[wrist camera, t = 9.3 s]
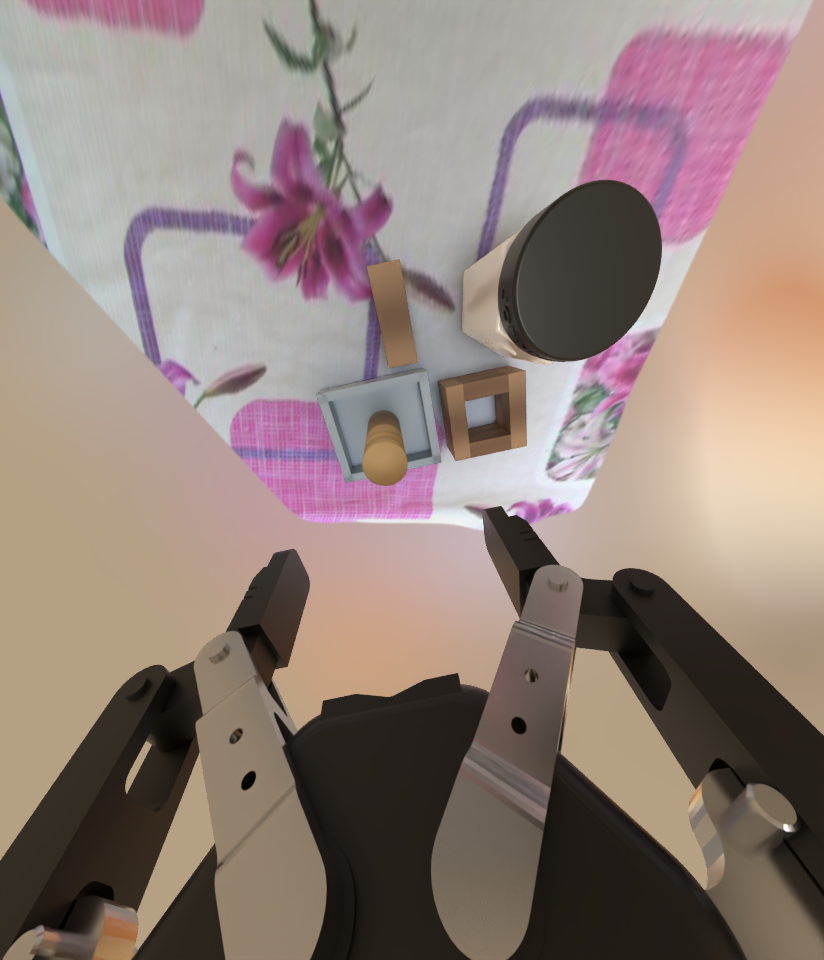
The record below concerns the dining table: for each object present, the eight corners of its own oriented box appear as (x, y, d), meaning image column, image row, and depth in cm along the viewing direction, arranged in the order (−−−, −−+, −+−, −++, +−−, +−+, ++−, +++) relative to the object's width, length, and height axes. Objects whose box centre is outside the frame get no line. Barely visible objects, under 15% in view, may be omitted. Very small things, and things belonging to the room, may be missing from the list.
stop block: (369, 275, 25) (366, 266, 21) (397, 269, 25) (399, 259, 21) (388, 363, 28) (389, 368, 24) (413, 358, 28) (417, 362, 24)
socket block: (437, 380, 29) (445, 387, 25) (507, 365, 29) (525, 370, 25) (447, 446, 32) (455, 461, 29) (510, 433, 32) (526, 445, 29)
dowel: (364, 414, 29) (356, 449, 20) (396, 407, 29) (402, 439, 20) (372, 444, 31) (368, 489, 22) (402, 437, 31) (411, 480, 22)
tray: (321, 389, 28) (316, 394, 26) (423, 367, 28) (426, 370, 26) (348, 472, 32) (345, 482, 30) (437, 453, 32) (441, 462, 30)
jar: (439, 321, 27) (477, 313, 16) (489, 219, 24) (576, 126, 13) (517, 369, 29) (595, 390, 18) (571, 281, 26) (701, 247, 16)
